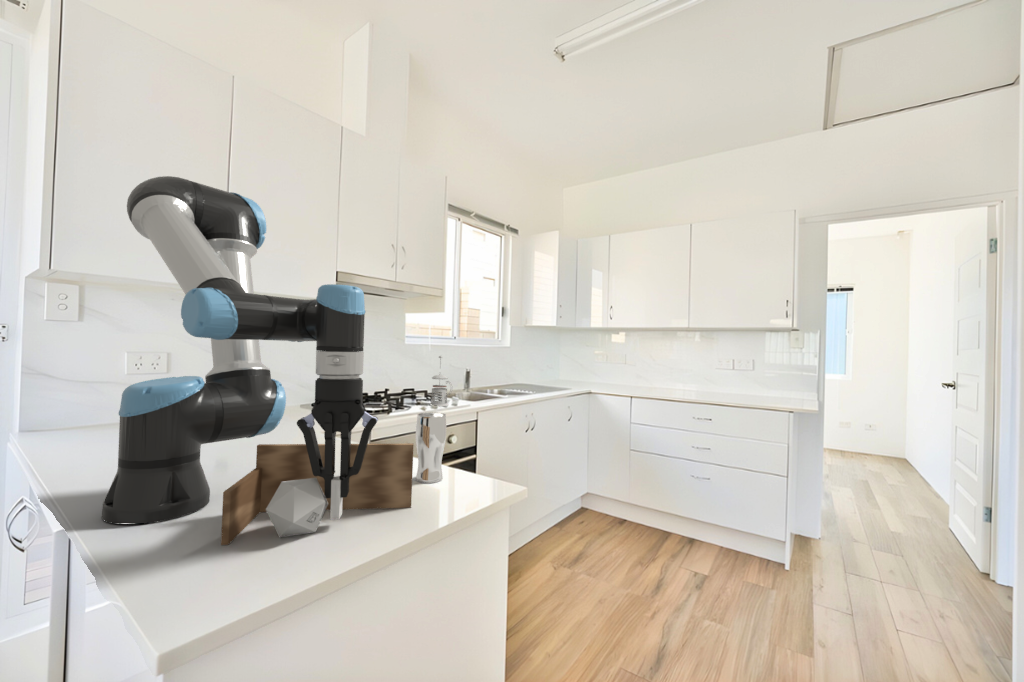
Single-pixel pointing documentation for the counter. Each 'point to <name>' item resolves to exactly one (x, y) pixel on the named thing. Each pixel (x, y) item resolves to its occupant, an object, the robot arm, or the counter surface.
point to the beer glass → (430, 446)
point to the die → (297, 507)
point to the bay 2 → (381, 477)
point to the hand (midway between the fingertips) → (336, 516)
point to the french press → (443, 390)
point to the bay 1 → (265, 484)
